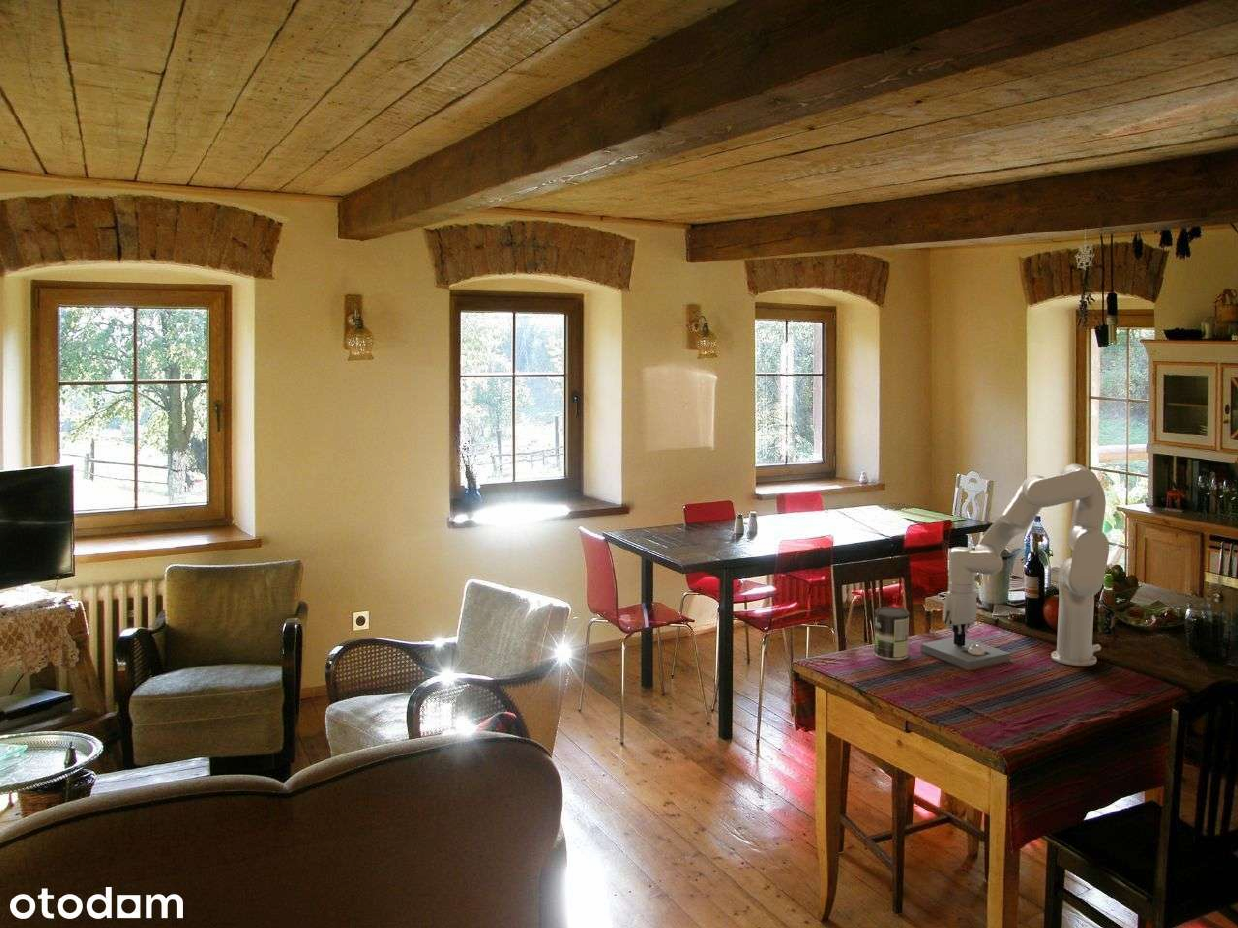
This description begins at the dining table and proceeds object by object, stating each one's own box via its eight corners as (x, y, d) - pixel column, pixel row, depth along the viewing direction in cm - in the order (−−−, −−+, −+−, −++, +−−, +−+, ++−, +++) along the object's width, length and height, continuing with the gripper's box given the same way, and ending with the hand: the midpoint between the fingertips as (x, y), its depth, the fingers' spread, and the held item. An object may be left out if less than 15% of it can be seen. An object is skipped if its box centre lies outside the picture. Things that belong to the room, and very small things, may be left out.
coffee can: (876, 660, 309) (877, 615, 307) (872, 649, 319) (873, 606, 317) (910, 661, 307) (911, 616, 305) (905, 650, 317) (907, 607, 316)
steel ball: (989, 659, 305) (977, 660, 309) (987, 643, 306) (974, 643, 310) (978, 661, 303) (965, 661, 307) (975, 644, 303) (962, 645, 308)
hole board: (960, 643, 324) (960, 635, 324) (1009, 660, 306) (1010, 653, 306) (920, 651, 316) (920, 643, 316) (968, 670, 299) (968, 661, 298)
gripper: (970, 581, 317) (968, 638, 320) (934, 587, 311) (932, 645, 313) (988, 587, 310) (986, 644, 313) (951, 593, 304) (950, 652, 306)
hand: (959, 644), depth 313 cm, fingers closed
